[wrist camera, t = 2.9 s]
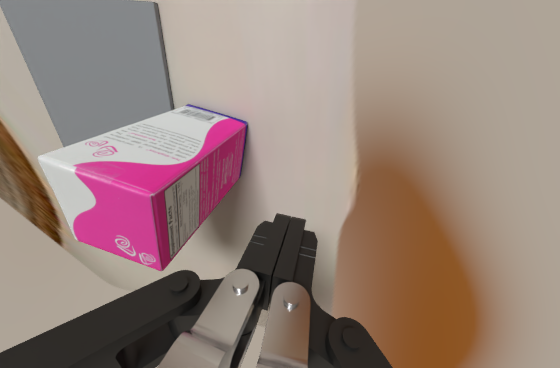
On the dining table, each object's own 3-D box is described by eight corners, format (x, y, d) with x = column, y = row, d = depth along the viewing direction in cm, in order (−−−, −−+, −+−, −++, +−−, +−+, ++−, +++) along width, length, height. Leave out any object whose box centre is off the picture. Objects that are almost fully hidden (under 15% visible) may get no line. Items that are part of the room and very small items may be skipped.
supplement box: (188, 161, 22) (69, 241, 12) (188, 102, 19) (28, 147, 9) (241, 179, 22) (160, 277, 12) (250, 121, 18) (149, 189, 9)
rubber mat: (87, 191, 28) (84, 193, 28) (0, -9, 18) (-7, -10, 18) (190, 217, 26) (188, 219, 26) (157, 3, 16) (153, 2, 15)
